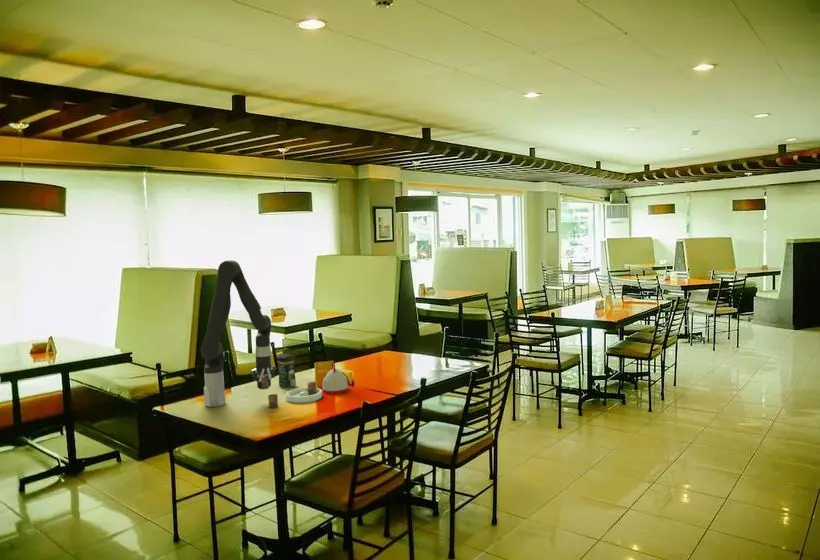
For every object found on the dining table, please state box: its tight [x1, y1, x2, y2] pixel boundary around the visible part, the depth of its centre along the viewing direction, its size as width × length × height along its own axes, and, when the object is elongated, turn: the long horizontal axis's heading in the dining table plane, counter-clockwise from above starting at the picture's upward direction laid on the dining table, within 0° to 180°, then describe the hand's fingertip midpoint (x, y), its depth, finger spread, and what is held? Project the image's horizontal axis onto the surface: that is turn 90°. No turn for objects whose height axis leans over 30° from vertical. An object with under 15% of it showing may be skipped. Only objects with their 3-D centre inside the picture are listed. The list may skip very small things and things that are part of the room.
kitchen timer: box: [321, 362, 349, 395], centre depth 308 cm, size 14×14×15 cm
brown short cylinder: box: [267, 393, 279, 409], centre depth 282 cm, size 4×4×6 cm
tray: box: [285, 386, 323, 404], centre depth 296 cm, size 18×18×3 cm
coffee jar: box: [277, 353, 297, 389], centre depth 321 cm, size 10×8×19 cm
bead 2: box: [307, 381, 317, 395], centre depth 299 cm, size 4×4×6 cm
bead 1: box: [260, 375, 270, 390], centre depth 289 cm, size 4×4×6 cm
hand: (264, 387), depth 290 cm, fingers closed on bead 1, 4 cm apart
